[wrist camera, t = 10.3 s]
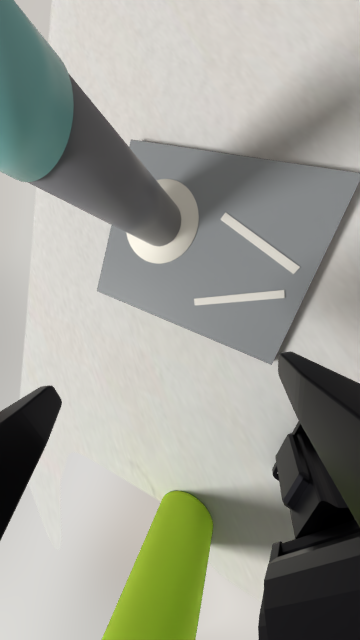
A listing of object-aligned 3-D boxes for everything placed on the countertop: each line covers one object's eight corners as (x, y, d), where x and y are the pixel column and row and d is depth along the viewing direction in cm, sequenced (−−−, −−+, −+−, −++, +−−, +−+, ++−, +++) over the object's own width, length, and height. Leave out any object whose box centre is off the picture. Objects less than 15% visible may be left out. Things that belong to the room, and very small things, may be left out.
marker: (192, 221, 16) (27, 11, 4) (157, 257, 18) (-41, 177, 6) (161, 186, 17) (-63, -91, 5) (130, 224, 18) (-105, 84, 6)
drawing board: (357, 180, 13) (364, 172, 13) (270, 361, 17) (271, 365, 16) (135, 145, 18) (130, 138, 17) (102, 291, 21) (96, 290, 21)
